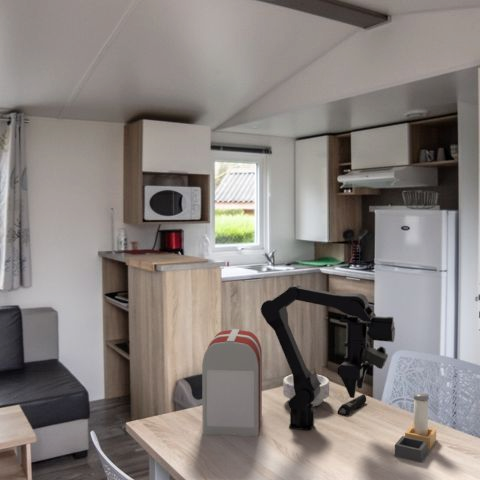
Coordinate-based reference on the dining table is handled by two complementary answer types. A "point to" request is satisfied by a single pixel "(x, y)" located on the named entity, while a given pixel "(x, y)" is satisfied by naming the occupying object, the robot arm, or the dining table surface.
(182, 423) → the dining table surface
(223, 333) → the arched-top grey box
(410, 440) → the two-tone square organizer tray
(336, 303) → the robot arm
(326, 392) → the paper bowls
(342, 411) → the electric trimmer
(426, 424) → the plug
